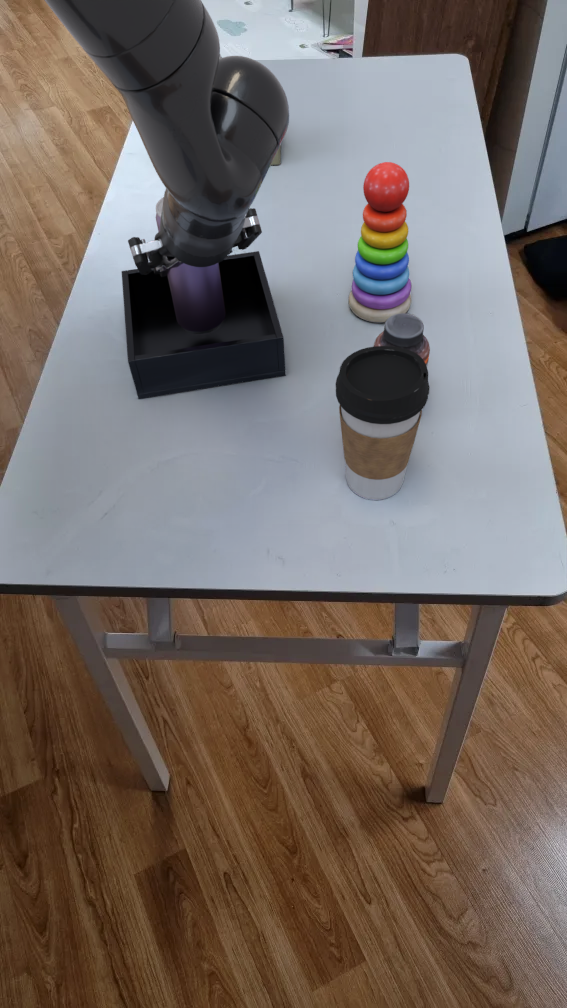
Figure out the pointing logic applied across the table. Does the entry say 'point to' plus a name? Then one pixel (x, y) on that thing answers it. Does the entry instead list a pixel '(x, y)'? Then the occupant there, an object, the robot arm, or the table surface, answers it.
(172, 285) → the beverage can
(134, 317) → the black open storage bin
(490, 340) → the table surface
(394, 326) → the supplement bottle
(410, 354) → the coffee cup
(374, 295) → the stacking toy
